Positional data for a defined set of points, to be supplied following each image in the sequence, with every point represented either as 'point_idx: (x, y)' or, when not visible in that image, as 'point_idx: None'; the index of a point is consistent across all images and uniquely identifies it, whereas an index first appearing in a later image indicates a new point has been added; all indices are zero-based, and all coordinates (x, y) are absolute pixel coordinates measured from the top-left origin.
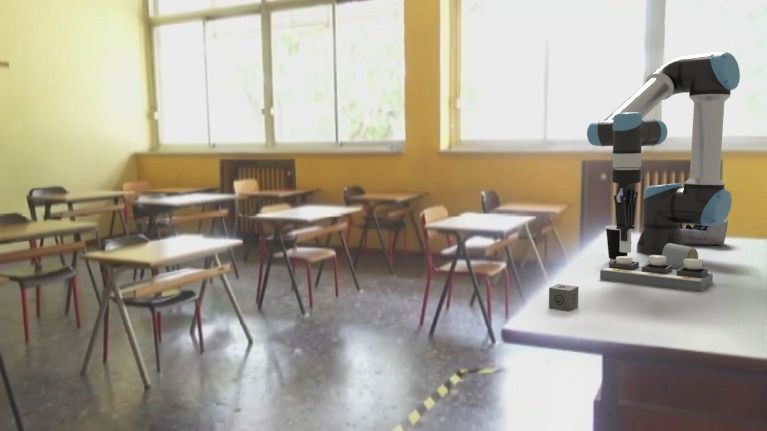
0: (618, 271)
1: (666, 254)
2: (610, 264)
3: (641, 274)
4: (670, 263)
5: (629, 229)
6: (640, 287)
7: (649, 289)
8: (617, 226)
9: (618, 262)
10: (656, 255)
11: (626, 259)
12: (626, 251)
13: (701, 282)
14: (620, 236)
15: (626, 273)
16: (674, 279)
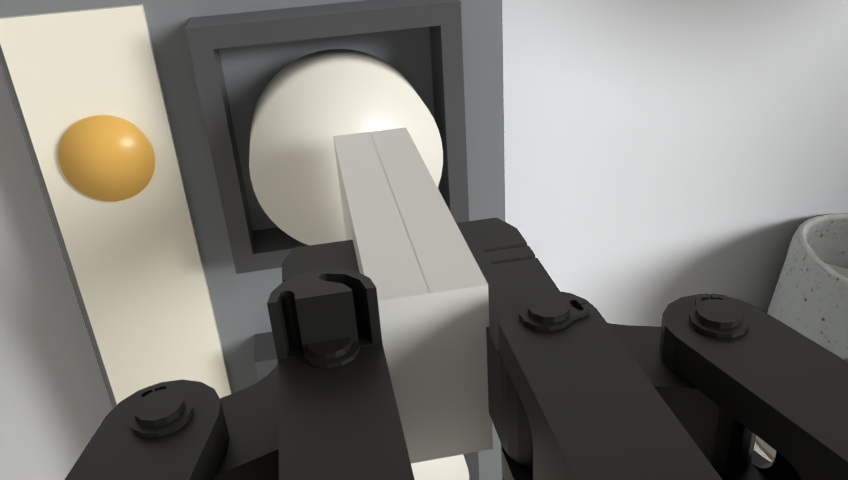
0: (52, 203)
1: (832, 323)
2: (190, 41)
3: (114, 396)
4: (774, 313)
5: (442, 442)
6: (8, 392)
7: (2, 459)
8: (107, 433)
9: (253, 122)
10: (450, 459)
11: (277, 222)
12: (345, 229)
13: None
14: (357, 242)
15: (72, 276)
16: None
